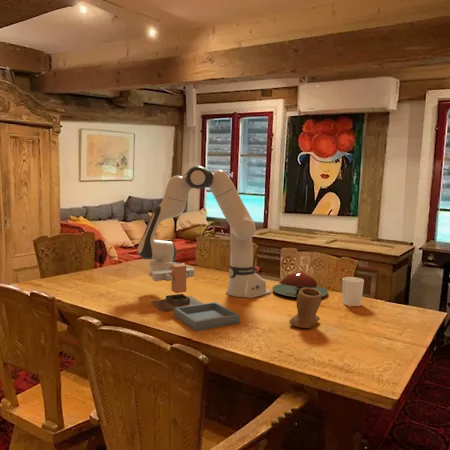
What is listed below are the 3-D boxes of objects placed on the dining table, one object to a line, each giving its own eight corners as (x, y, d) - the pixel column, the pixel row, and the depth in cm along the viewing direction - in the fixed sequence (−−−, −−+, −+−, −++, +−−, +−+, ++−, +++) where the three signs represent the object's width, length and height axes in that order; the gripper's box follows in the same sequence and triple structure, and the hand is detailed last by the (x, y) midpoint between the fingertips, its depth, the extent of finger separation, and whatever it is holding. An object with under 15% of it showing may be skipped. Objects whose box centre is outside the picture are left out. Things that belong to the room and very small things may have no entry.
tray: (215, 309, 206) (215, 301, 206) (239, 323, 189) (239, 314, 188) (174, 315, 196) (174, 307, 196) (195, 330, 179) (195, 322, 178)
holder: (190, 298, 223) (191, 290, 223) (204, 305, 211) (204, 298, 211) (151, 303, 213) (151, 295, 213) (163, 311, 201) (163, 303, 201)
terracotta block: (181, 289, 215) (181, 263, 213) (186, 291, 210) (186, 265, 209) (171, 290, 212) (171, 264, 211) (176, 293, 208) (175, 266, 206)
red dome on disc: (265, 296, 229) (266, 274, 228) (280, 283, 255) (281, 263, 254) (322, 304, 219) (323, 280, 218) (332, 290, 245) (333, 269, 243)
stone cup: (313, 333, 180) (315, 295, 178) (285, 326, 186) (287, 290, 184) (327, 322, 193) (329, 287, 191) (300, 316, 199) (301, 282, 197)
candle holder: (364, 303, 222) (365, 278, 221) (360, 308, 213) (362, 282, 212) (343, 300, 226) (344, 275, 225) (339, 305, 217) (340, 280, 216)
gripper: (146, 267, 216) (157, 273, 204) (186, 262, 226) (199, 268, 214) (146, 280, 217) (158, 287, 205) (186, 275, 227) (199, 281, 215)
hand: (179, 277), depth 210 cm, fingers closed on terracotta block, 5 cm apart
